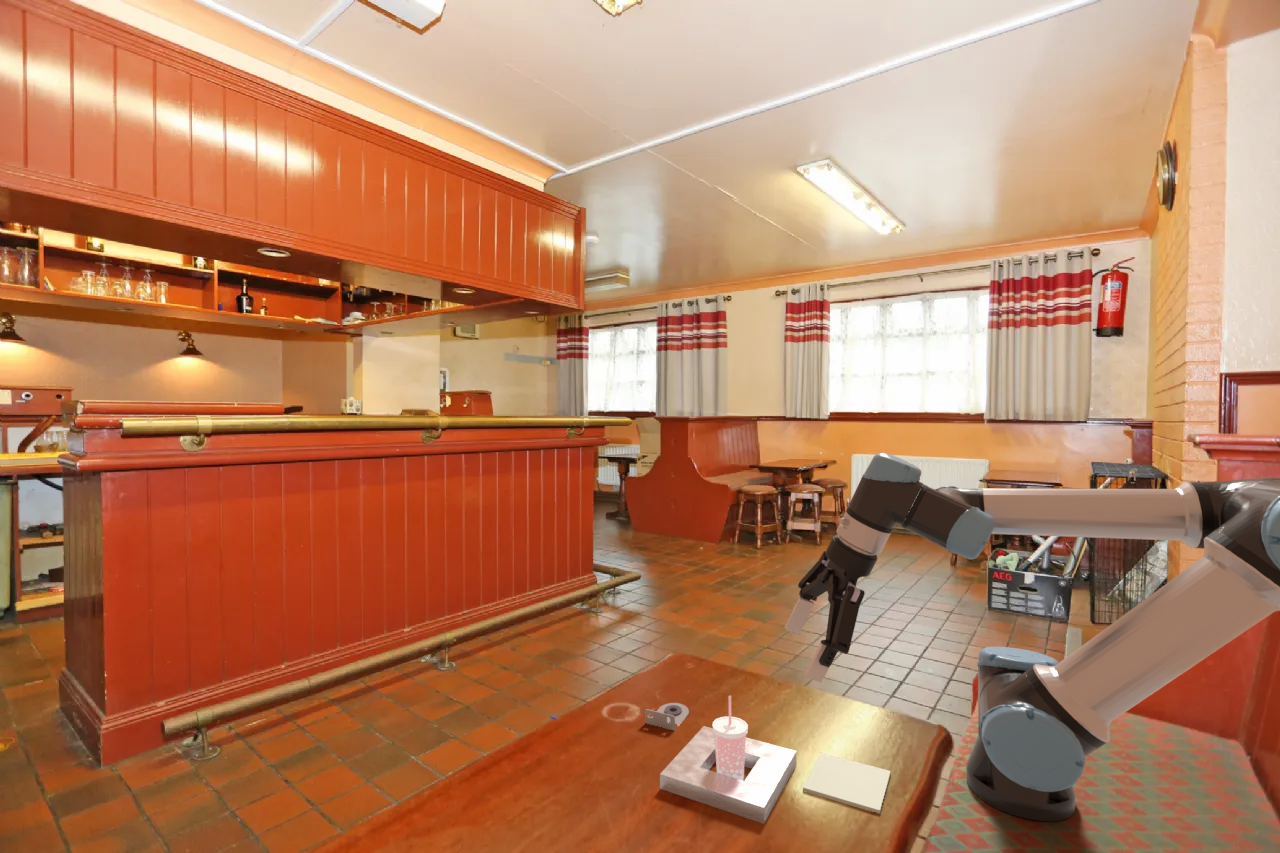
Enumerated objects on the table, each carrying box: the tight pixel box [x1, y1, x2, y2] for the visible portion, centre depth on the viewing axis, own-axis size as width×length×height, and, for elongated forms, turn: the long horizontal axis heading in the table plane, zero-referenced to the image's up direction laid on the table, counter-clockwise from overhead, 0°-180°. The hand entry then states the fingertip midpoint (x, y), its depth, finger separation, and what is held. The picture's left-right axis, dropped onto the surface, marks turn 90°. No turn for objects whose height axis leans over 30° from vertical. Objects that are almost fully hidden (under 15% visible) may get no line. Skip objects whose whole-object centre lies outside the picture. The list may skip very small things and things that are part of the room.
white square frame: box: [659, 725, 798, 825], centre depth 104 cm, size 18×18×2 cm
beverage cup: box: [711, 695, 749, 781], centre depth 104 cm, size 6×6×14 cm
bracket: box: [644, 702, 690, 732], centre depth 126 cm, size 7×10×4 cm, turn 153°
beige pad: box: [802, 752, 891, 814], centre depth 102 cm, size 12×12×1 cm
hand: (801, 653), depth 102 cm, fingers open, 13 cm apart
